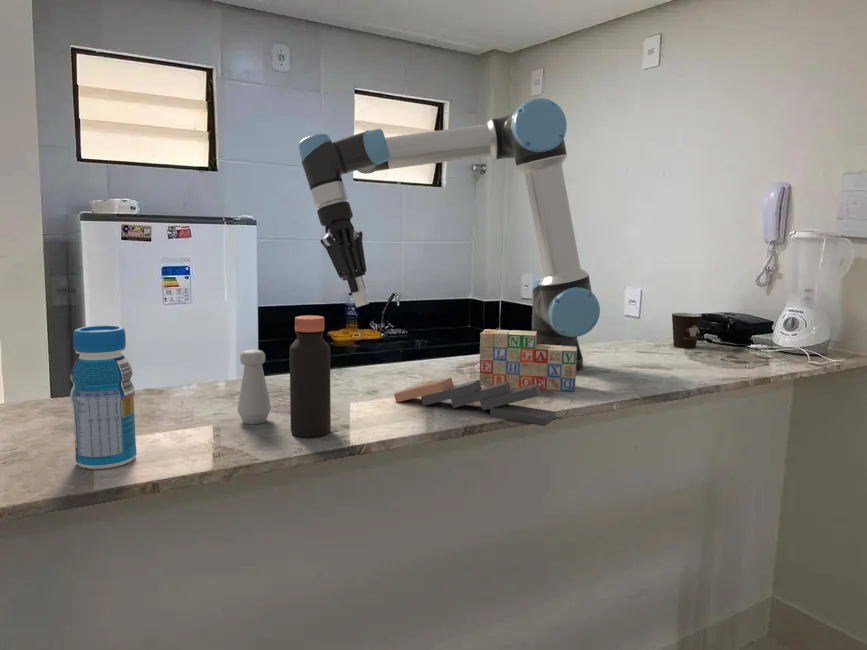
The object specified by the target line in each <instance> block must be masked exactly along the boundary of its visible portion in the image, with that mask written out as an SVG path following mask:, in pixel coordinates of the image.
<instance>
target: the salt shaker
mask: <svg viewBox="0 0 867 650" xmlns="http://www.w3.org/2000/svg"><path fill="white" fill-rule="evenodd" d="M239 360H240V361H239V362H240V364H242V365H243V373H242V380H241V385H240V392H239V397H238V402H237V403H238V404H237V413H238V416H240V419H241V420H242V422H243V424H244V425H252V426H254V425H260V424H263V423H265V422H266V421H267V419H268V417H269V414H270V413H271V409H272V405H271V402H270V397H269V391H268V386H267V383H266V377H265V372H264V368H263V364H264V363H265V361H266V354H265V352H264V350H261V349H246V350H243V351H242V352H241V354H240V356H239Z"/></svg>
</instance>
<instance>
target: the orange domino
mask: <svg viewBox="0 0 867 650" xmlns="http://www.w3.org/2000/svg"><path fill="white" fill-rule="evenodd" d="M453 386H455V385H454V382H453V378H452V377H447V378H443V379H439V380H435V381H431V382H426V383H422V384H418V385H414V386H411V387H406V388H403V389H401V390H399V391H397V392H395V393H393V396H394V397H393V398H394V399H395V402H396V403H399V402H405V401H408V400H411V399H417V398H421V397H422V396H426V395H430V394H434V393H439V392H443V391H445V390H447V389H449V388H451V387H453Z"/></svg>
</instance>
